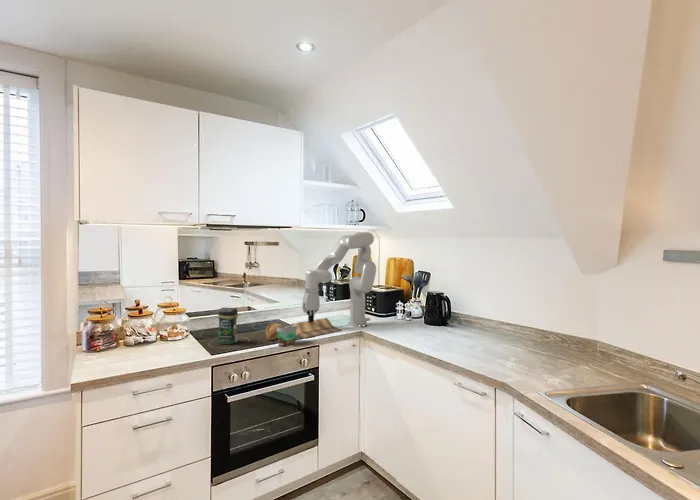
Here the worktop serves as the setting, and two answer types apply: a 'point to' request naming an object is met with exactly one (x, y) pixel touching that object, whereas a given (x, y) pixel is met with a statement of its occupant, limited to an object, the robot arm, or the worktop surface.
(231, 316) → the coffee jar
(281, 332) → the food container
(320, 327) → the oak board
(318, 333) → the walnut board
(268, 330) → the bread roll
